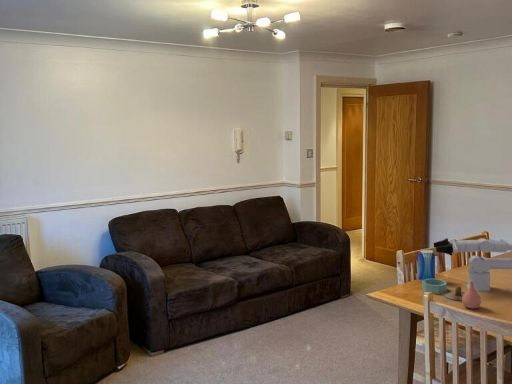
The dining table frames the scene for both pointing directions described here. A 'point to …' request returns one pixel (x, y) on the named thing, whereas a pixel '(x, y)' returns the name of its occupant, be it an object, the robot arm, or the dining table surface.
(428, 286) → the bowl
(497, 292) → the dining table surface
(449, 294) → the lid
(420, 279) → the beer can
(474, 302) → the perfume bottle
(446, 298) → the mat
